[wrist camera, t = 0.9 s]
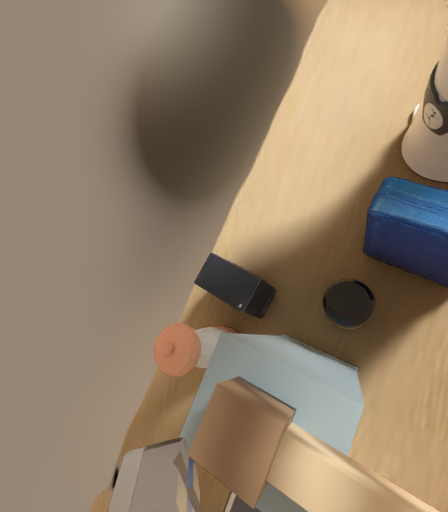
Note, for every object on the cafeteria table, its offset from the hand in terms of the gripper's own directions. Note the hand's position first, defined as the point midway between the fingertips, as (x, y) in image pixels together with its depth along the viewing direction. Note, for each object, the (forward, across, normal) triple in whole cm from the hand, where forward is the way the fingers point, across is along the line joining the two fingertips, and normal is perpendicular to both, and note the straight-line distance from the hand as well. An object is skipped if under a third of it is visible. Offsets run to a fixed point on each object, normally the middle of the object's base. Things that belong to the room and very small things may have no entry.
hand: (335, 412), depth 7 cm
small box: (+44, -2, +14) cm, 46 cm away
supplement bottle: (+34, -17, +18) cm, 42 cm away
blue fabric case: (+34, -28, +12) cm, 45 cm away
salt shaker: (+41, +5, +23) cm, 47 cm away
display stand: (+32, -7, +27) cm, 42 cm away
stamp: (+8, -2, +14) cm, 16 cm away
